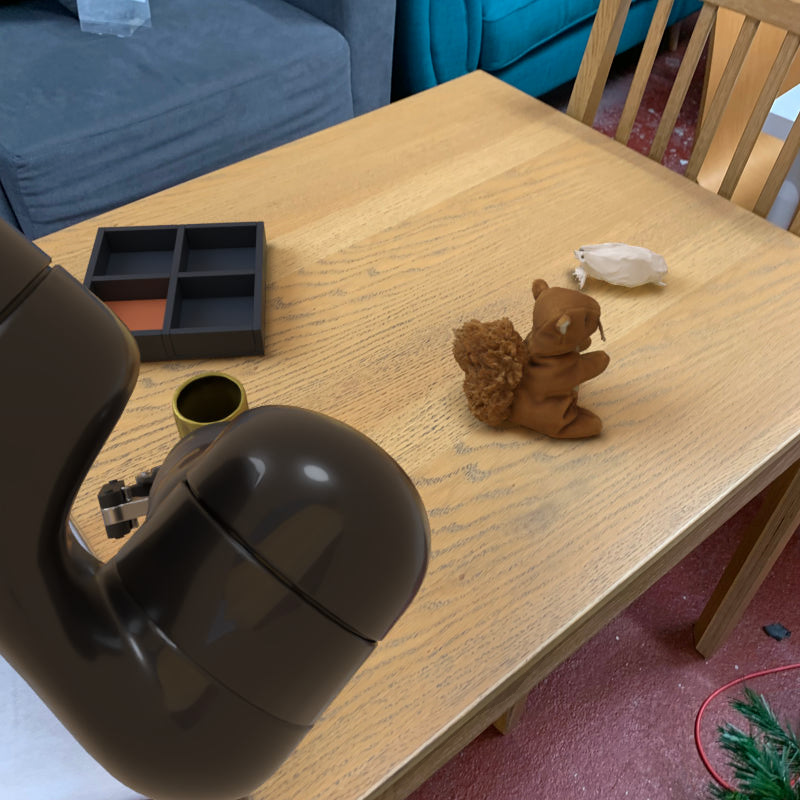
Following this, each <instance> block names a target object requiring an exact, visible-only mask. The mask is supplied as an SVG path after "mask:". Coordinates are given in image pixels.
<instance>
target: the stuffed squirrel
mask: <svg viewBox="0 0 800 800" xmlns="http://www.w3.org/2000/svg"><path fill="white" fill-rule="evenodd" d="M531 284H532V286H531V292H532V293H531V294H532V296H533V299H534V305H533V309H532V326H531V330H530V331H529V332H528V333H527V335H526V336H525V338H524V339H523V337H522V336H521V334H520V333H519V331H517V330H515V325H514V323H513V321H512V320H510V319H509V317H508V316H507V317H505V316H503V317H501V320H500V319H499V318H497V319H496V320H493V321H485V322H481V321H480V320H478V319H477V318H471V319H470V320H469V321H467V322H466V321H464V322H462V324H463V325H461V327H457V328H455V327H453V328H451V331H452V333H453V335H454V338H455V339H453V341H454V342H451V344H452V345H453V347H452V349H451V352H452V355H453V358H454V361H455V362H456V363H457V365H458V367H459V368H460V369H461V371H462V372H464V379H463V380H462V382H463V385H461V387H462V392H464V394H465V398H466V399H467V404H466V407H467V409H468V410H469V413H470V414H471V416H472V417H474V418H475V419H476V420H478V422H480V423H484V424H486V426H489V427H494V426H497V425H499V424H501V423H503V422H504V420H509V421H510V422H513V423H515V424H516V423H517V424H519V425H521V426H524V427H527V428H528V429H531V430H534V431H536V432H538V433H541V434H544V435H546V436H549V437H551V438H553V439H554V438H555V439H572V438H573V439H576V438H586V437H590V436H596V435H599V434H600V433H601V432H602V430H603V427H604V425H603V421H602V419H601V418H600V416H598V415H597V414H595V413H594V412H593V411H591V410H588V409H586V408H585V407H582V406H579V405H578V400H579V399H578V398H579V388H580V387H579V386H580V385H582V384H584V383H586V382H588V381H591V380H593V379H595V378H597V377H598V376H600V375H602V374H603V373H604V372H605V371H606V370H607V368H608V367H609V366H610V365H609V364H610V362H611V357H610V355H609V354H607V352H606V351H605V350H602V349H601V350H598V349H597V350H594V351H589V352H585V353H583V352H584V351H586V350H588V349H589V348H590V347H591V345H592V342H593V340H592V338H591V336H593V335H594V334H595V333H596V332H597V330H598V332H599V335H600V340H601V341H602V342H603V343H605V342H606V341H607V338H606V337H605V332H604V327H603V324H602V322H601V315H602V311H601V308H602V307H601V305H600V304H599V301H598V300H596V299H595V298H594V297H592V296H590V295H588V294H586V293H583V292H581V291H578V290H575V289H571V288H566V287H560V286H552V287H549V284H548V283H547V281H546V280H544V279H543V278H536V279H534V280H533V281H532V282H531Z"/></svg>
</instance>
